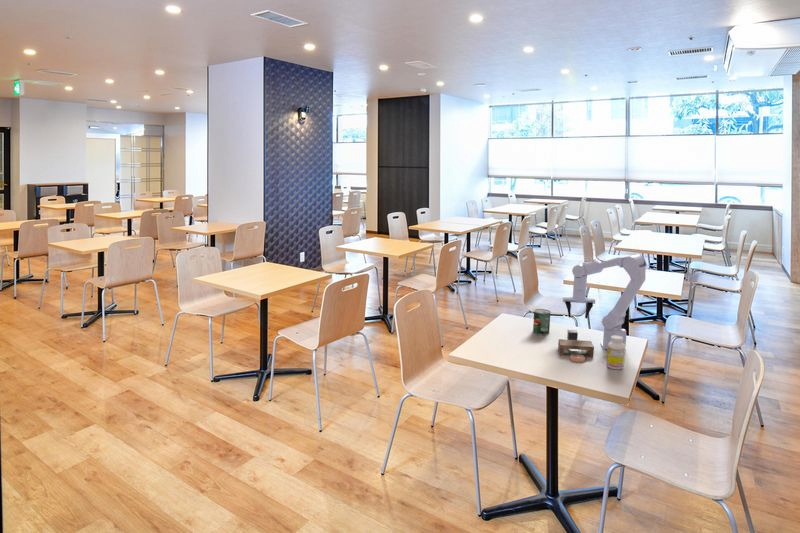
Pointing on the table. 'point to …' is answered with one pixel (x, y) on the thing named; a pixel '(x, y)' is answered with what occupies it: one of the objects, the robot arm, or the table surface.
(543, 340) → the table surface
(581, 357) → the coaster
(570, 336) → the grey square prism
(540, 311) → the canned tomato
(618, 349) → the supplement bottle
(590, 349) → the bench
